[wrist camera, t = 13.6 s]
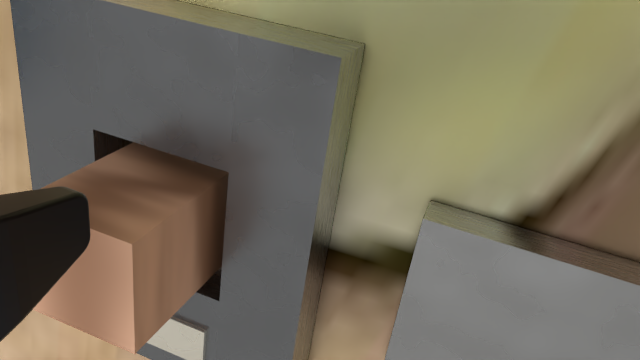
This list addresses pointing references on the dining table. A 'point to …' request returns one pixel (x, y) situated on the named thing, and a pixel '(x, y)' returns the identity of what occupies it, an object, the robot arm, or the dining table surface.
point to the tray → (512, 295)
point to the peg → (140, 243)
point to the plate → (204, 145)
